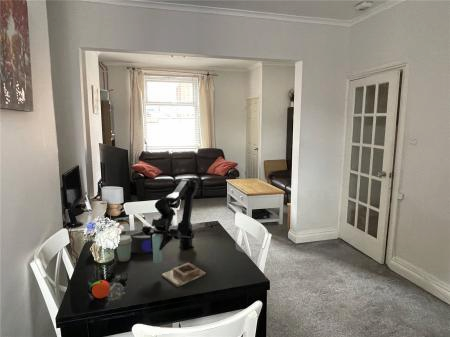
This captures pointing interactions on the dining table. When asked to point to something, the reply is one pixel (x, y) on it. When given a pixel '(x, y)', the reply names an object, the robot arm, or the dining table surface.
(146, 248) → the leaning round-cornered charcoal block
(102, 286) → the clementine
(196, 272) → the keyhole socket
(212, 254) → the dining table surface
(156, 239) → the peg
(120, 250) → the coffee cup
